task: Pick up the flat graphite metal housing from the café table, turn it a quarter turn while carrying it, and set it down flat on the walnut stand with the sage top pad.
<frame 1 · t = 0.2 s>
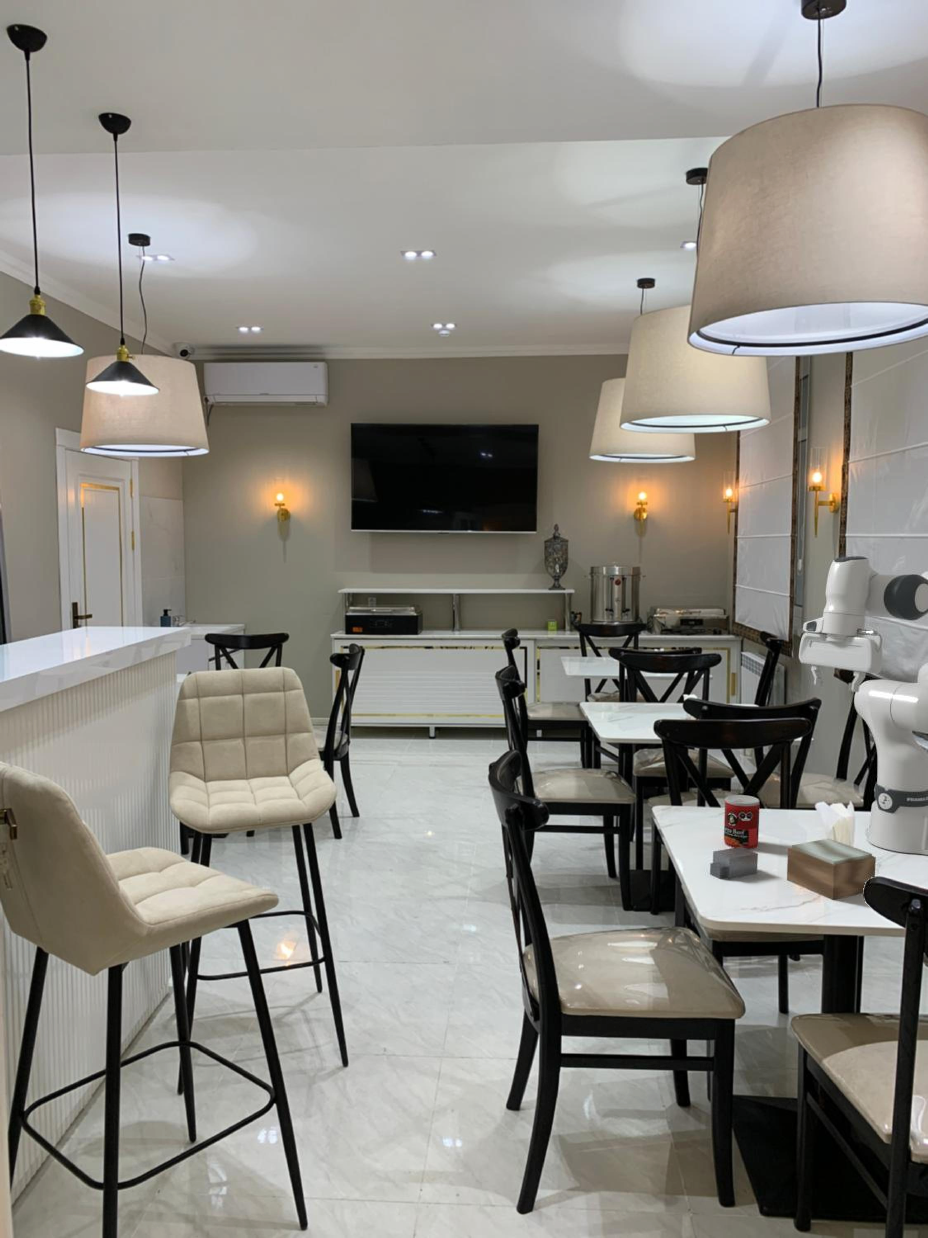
hand: (835, 688, 199), 39 cm above the table, tool pointing down, fingers open, 8 cm apart
stand: (829, 885, 185), on the table
canned food: (740, 845, 211), on the table
housing: (734, 872, 192), on the table
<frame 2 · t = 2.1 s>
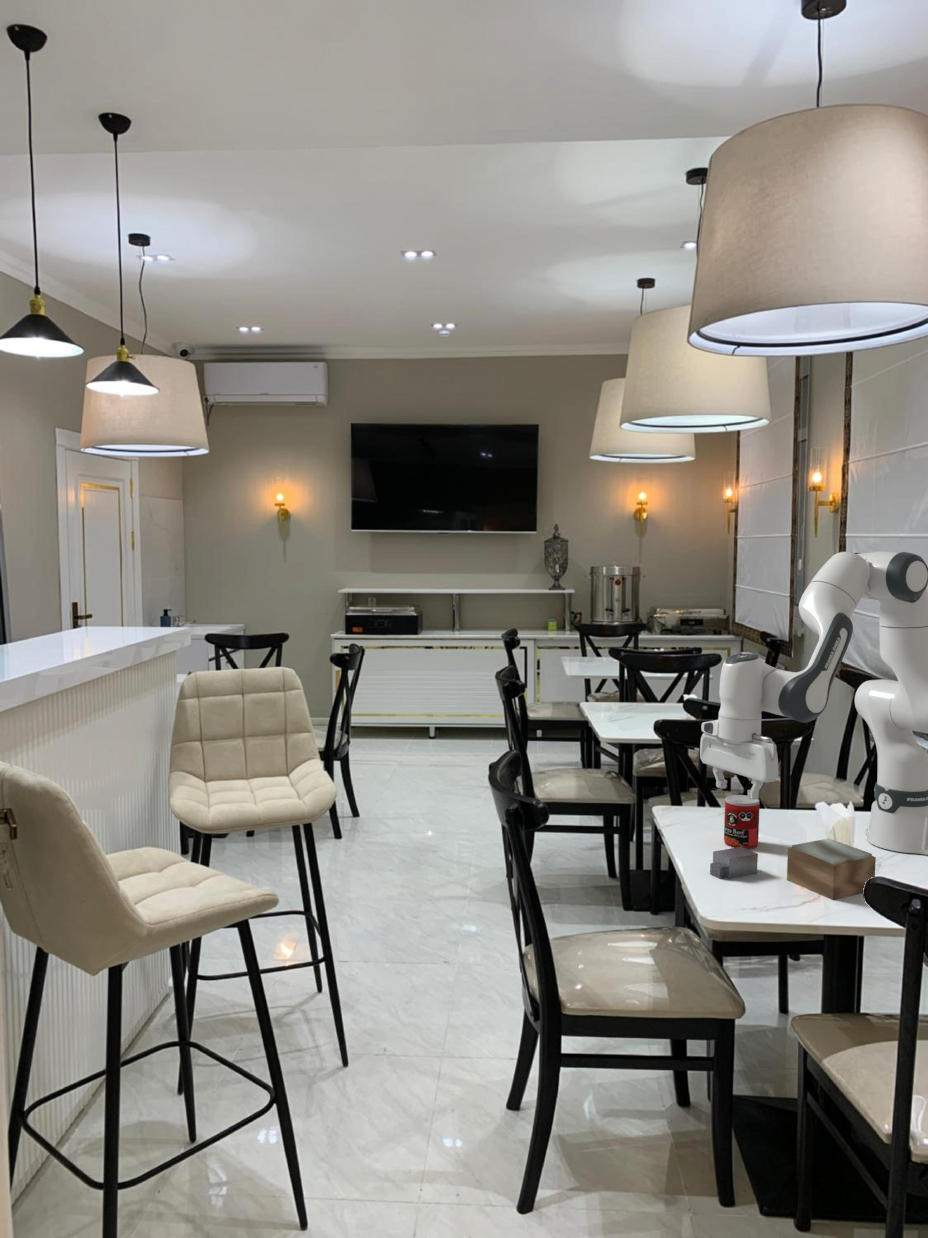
hand: (736, 793, 191), 18 cm above the table, tool pointing down, fingers open, 8 cm apart
nothing on the table moved.
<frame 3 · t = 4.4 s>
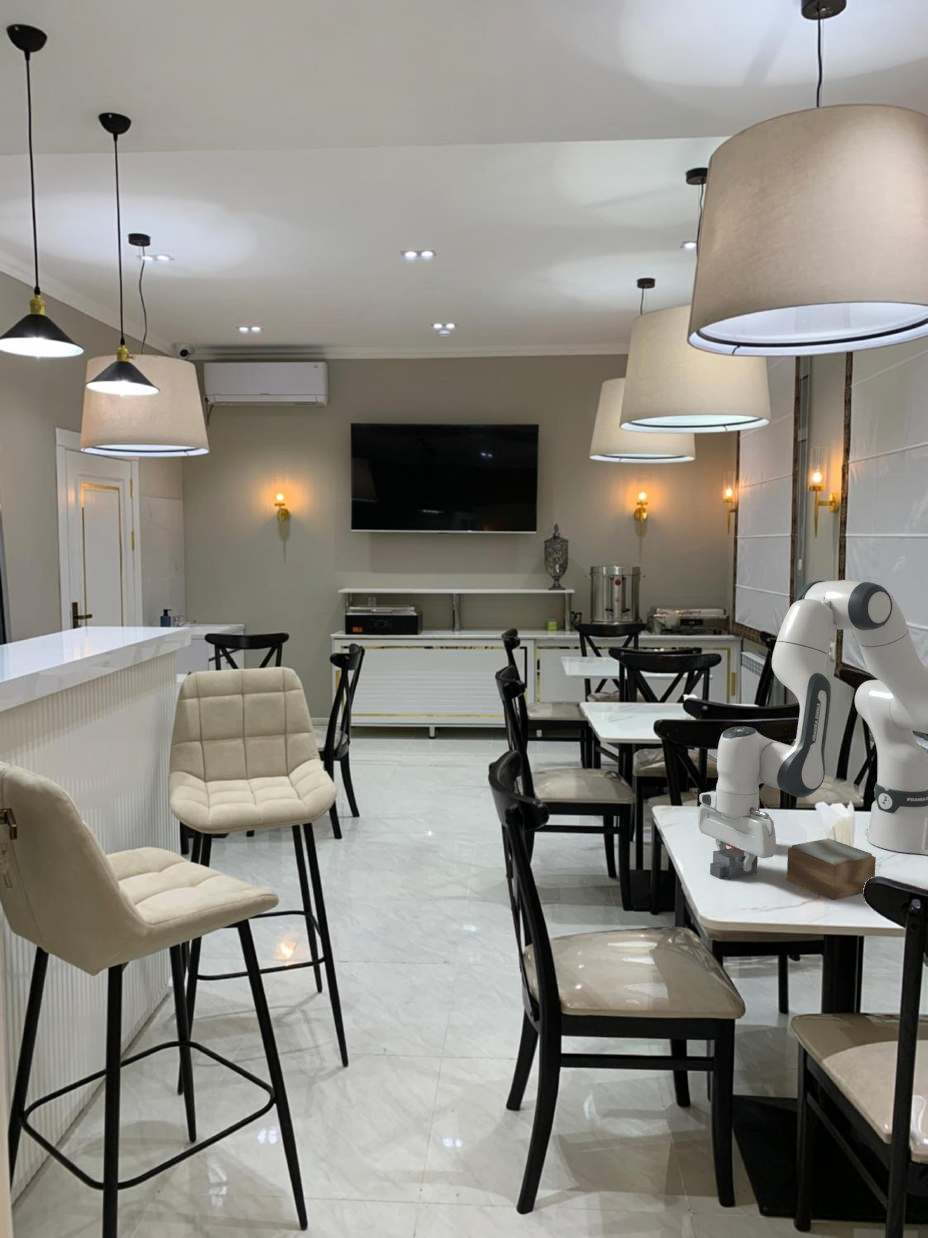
hand: (735, 865, 192), 2 cm above the table, tool pointing down, fingers closed on housing, 5 cm apart
housing: (734, 872, 192), on the table, touching gripper
everything else where it was.
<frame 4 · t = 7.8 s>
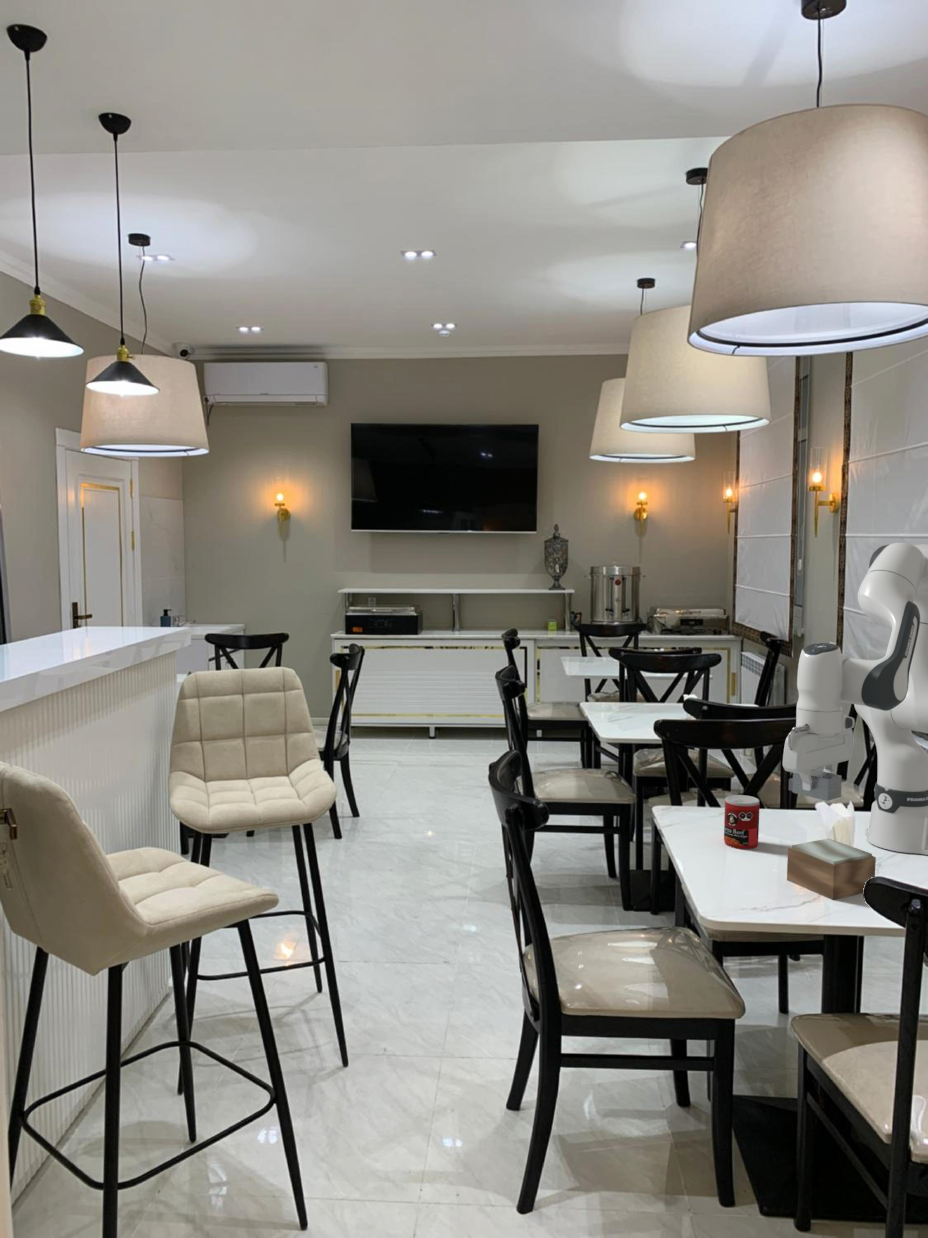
hand: (817, 787, 185), 20 cm above the table, tool pointing down, fingers closed on housing, 5 cm apart
housing: (816, 794, 185), point 19 cm above the table, touching gripper
everything else where it was.
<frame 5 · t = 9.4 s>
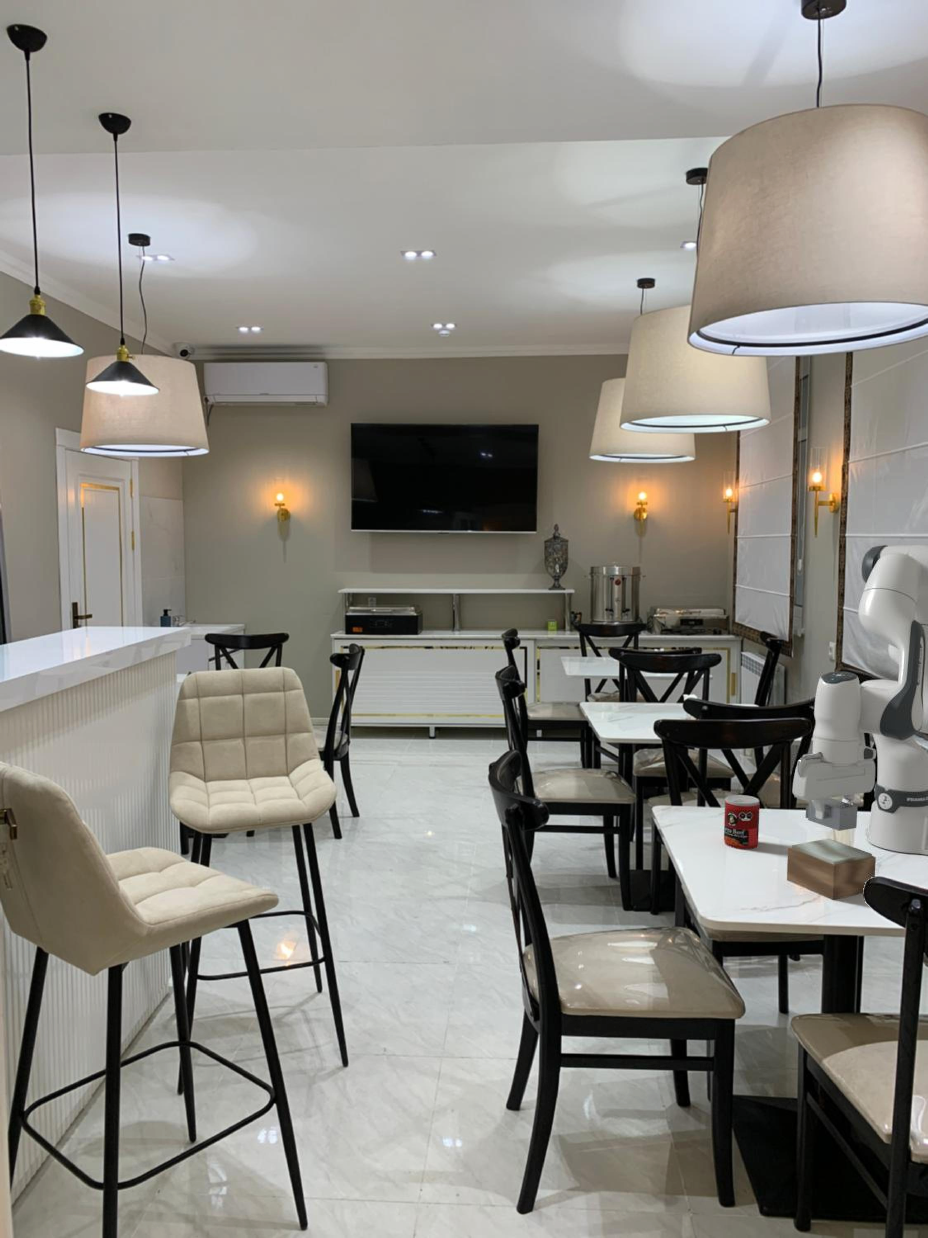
hand: (832, 816, 184), 15 cm above the table, tool pointing down, fingers closed on housing, 5 cm apart
housing: (831, 824, 184), point 13 cm above the table, touching gripper
everything else where it was.
when the fingers open (10 cm above the table, at t = 11.0 s): housing drops 1 cm, resting on stand.
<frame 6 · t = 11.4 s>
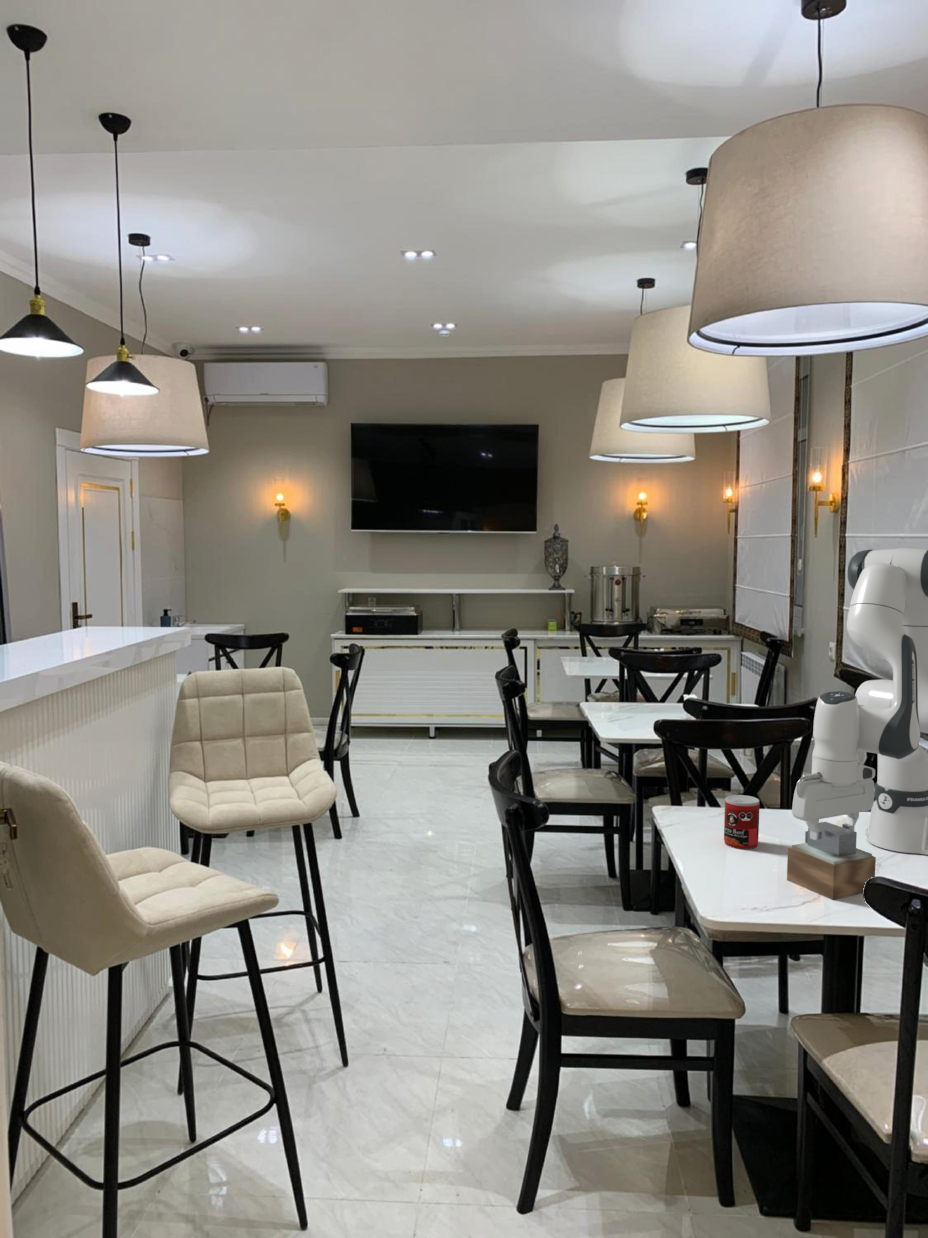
hand: (831, 836, 185), 10 cm above the table, tool pointing down, fingers open, 8 cm apart
housing: (831, 849, 185), point 8 cm above the table, touching stand
everything else where it was.
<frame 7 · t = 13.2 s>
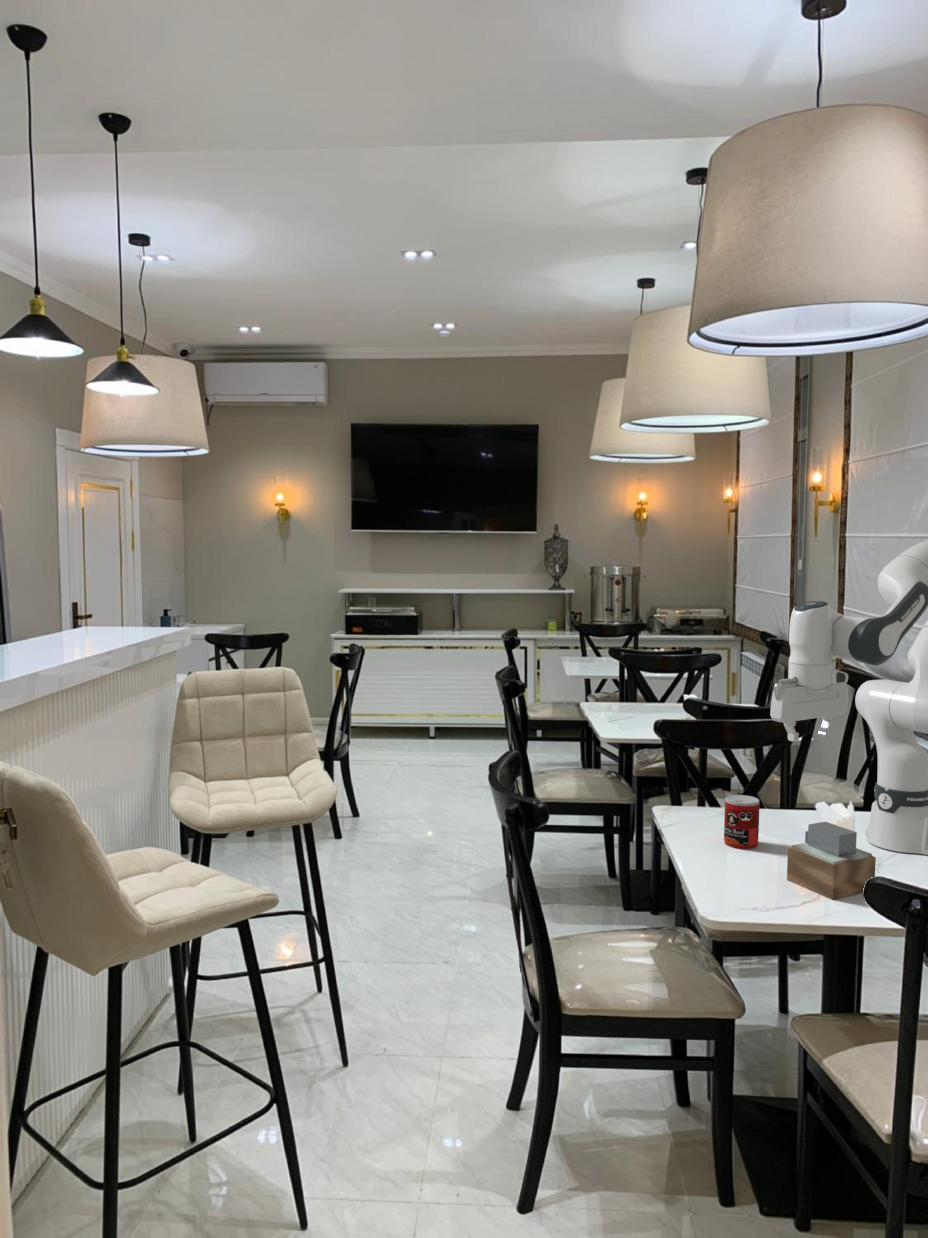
hand: (808, 738, 195), 29 cm above the table, tool pointing down, fingers open, 8 cm apart
nothing on the table moved.
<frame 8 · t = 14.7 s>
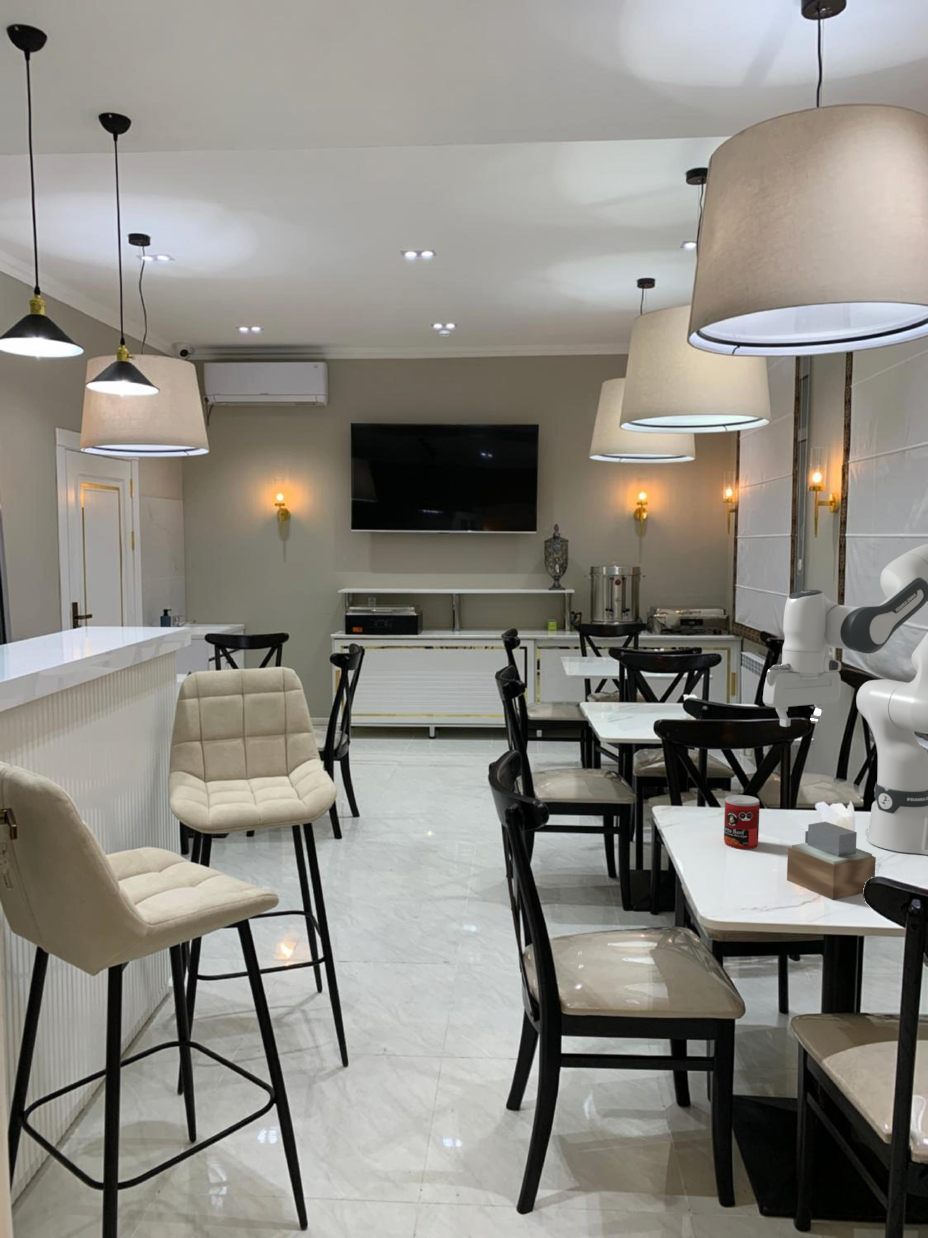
hand: (800, 724, 198), 31 cm above the table, tool pointing down, fingers open, 8 cm apart
nothing on the table moved.
at the end: housing inside the target area on the stand (0.0 cm from its centre), point 7.6 cm above the stand's base; housing tilted 0°; the gripper is holding nothing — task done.
